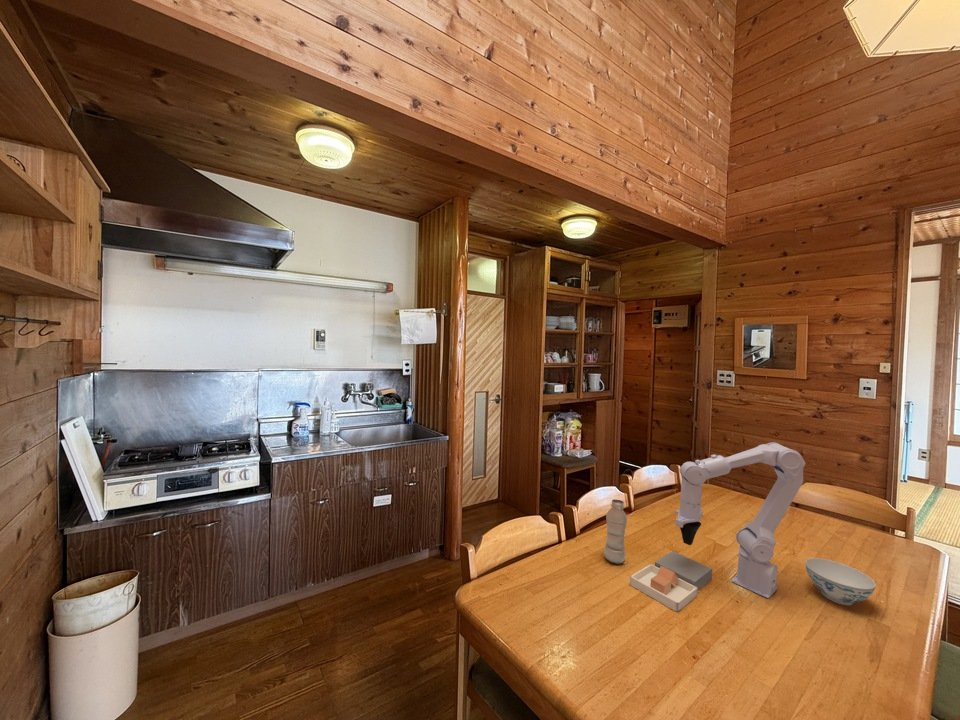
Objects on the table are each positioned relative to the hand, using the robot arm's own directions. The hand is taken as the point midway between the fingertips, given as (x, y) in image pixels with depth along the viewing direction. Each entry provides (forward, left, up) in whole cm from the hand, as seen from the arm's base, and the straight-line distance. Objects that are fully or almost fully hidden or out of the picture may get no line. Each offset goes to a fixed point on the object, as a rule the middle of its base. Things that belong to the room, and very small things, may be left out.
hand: (687, 543), depth 119 cm
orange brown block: (0, +12, -8) cm, 15 cm away
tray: (0, +15, -10) cm, 18 cm away
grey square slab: (0, +2, -10) cm, 10 cm away
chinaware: (-31, -27, -10) cm, 42 cm away
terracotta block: (0, +16, -6) cm, 17 cm away
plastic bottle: (+17, +13, -10) cm, 24 cm away
